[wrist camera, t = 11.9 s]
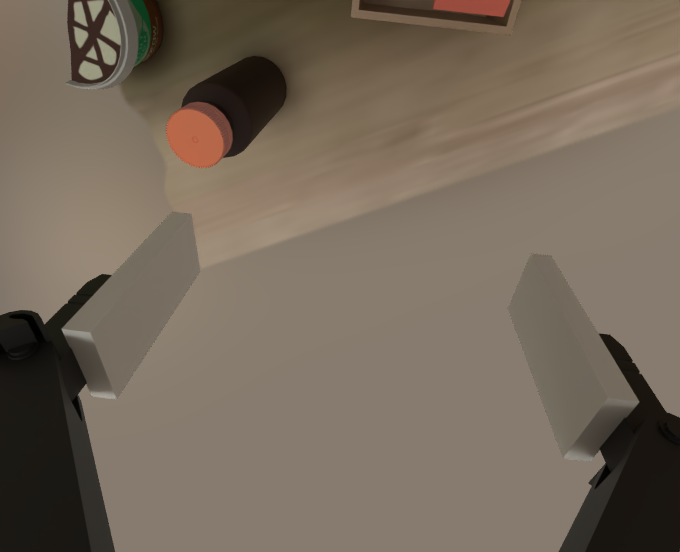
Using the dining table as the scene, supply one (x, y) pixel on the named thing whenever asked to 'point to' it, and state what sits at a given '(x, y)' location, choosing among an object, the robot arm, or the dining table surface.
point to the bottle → (226, 112)
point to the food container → (111, 39)
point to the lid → (474, 6)
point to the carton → (434, 15)
